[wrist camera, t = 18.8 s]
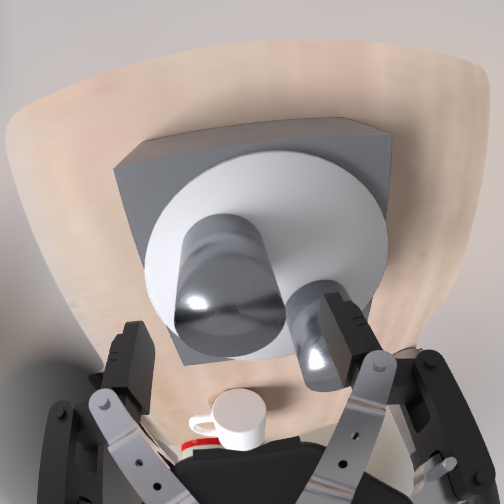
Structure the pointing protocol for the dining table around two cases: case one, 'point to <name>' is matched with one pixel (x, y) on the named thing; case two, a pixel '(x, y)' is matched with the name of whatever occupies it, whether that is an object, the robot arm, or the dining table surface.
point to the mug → (235, 420)
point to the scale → (265, 206)
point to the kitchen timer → (200, 445)
